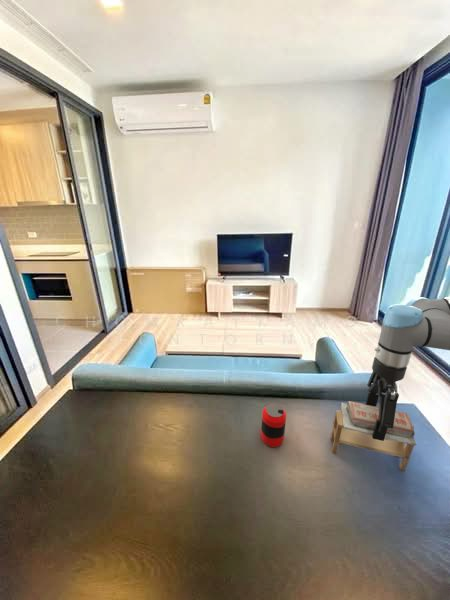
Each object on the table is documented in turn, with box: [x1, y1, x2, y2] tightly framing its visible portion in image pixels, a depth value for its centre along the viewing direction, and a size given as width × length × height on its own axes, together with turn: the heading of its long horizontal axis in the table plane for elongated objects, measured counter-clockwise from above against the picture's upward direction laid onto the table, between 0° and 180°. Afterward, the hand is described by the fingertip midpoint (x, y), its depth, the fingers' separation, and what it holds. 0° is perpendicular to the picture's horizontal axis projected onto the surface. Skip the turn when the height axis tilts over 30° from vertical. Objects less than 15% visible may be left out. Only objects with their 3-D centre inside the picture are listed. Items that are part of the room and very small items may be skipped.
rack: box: [330, 409, 417, 472], centre depth 77 cm, size 20×6×12 cm, turn 73°
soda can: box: [260, 403, 287, 448], centre depth 82 cm, size 8×8×12 cm
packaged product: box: [341, 400, 417, 447], centre depth 74 cm, size 18×5×10 cm
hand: (373, 423), depth 75 cm, fingers closed on packaged product, 10 cm apart
